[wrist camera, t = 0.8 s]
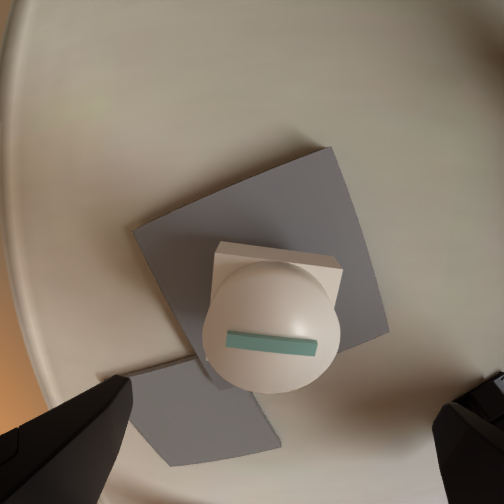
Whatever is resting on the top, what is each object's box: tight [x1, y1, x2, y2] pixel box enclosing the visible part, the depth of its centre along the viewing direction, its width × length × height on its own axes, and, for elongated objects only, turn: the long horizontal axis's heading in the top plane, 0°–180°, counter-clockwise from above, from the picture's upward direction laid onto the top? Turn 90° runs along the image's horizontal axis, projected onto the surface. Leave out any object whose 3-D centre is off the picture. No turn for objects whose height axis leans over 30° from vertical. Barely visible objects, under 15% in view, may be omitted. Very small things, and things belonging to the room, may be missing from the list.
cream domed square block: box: [202, 241, 343, 394], centre depth 14 cm, size 6×6×4 cm
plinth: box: [132, 147, 389, 391], centre depth 17 cm, size 12×12×6 cm
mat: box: [104, 355, 281, 467], centre depth 23 cm, size 11×11×1 cm
